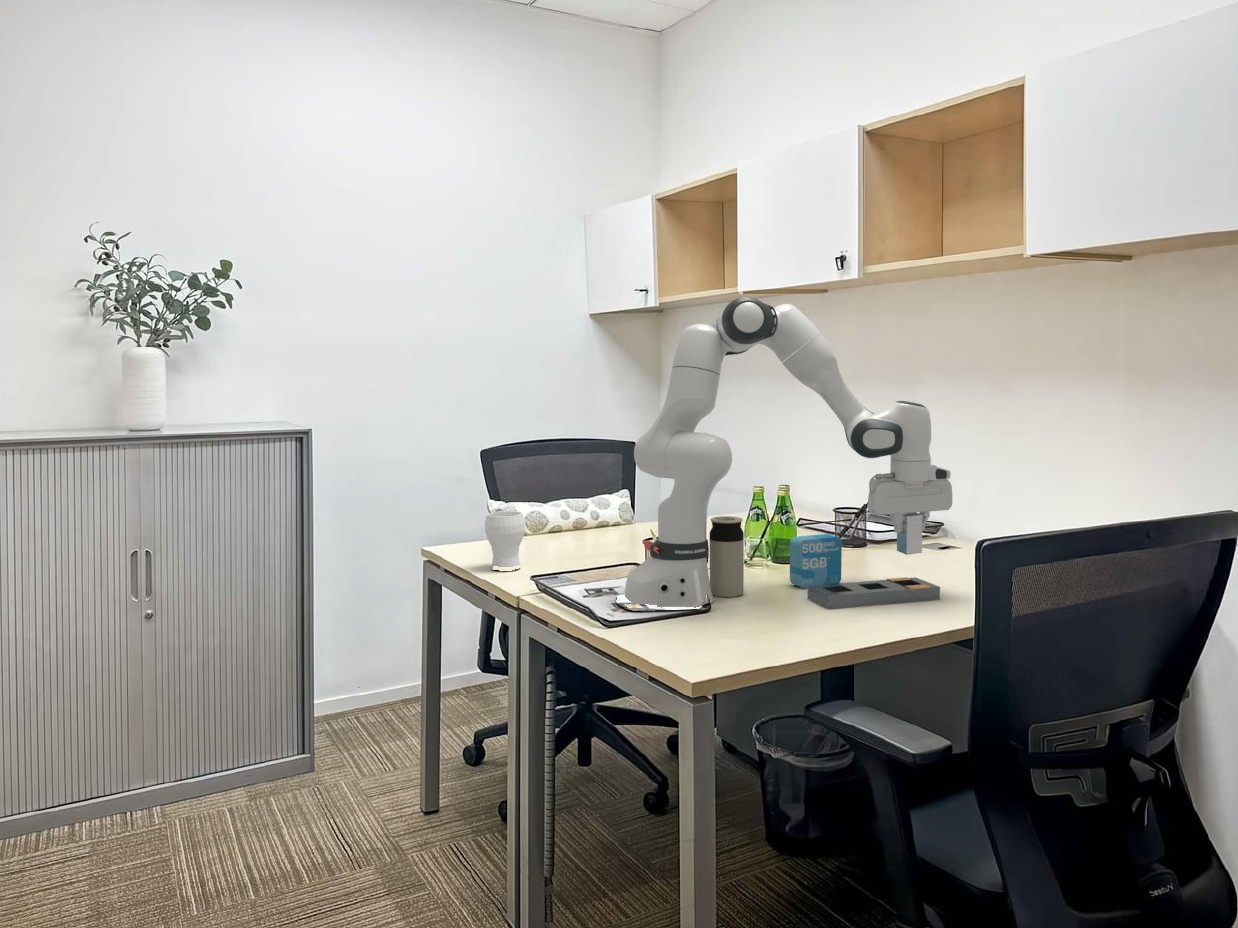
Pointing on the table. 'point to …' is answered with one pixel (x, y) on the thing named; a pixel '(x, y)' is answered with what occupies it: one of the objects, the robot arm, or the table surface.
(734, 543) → the travel mug
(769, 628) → the table surface
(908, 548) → the steel peg
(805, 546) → the data package
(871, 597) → the hole rail
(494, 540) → the cup
